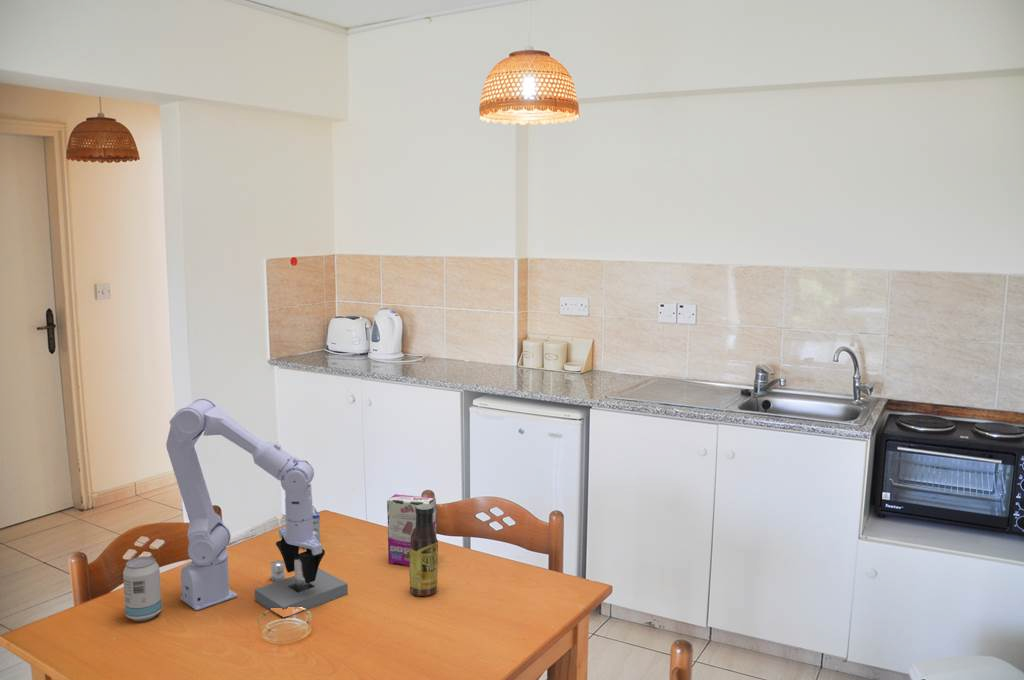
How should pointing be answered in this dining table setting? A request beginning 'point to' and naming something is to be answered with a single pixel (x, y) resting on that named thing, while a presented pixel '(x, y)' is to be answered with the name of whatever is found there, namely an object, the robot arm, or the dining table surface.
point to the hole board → (286, 595)
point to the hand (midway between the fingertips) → (301, 576)
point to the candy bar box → (403, 525)
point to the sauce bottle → (423, 553)
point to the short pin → (277, 571)
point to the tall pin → (299, 576)
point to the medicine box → (316, 523)
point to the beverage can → (142, 588)
